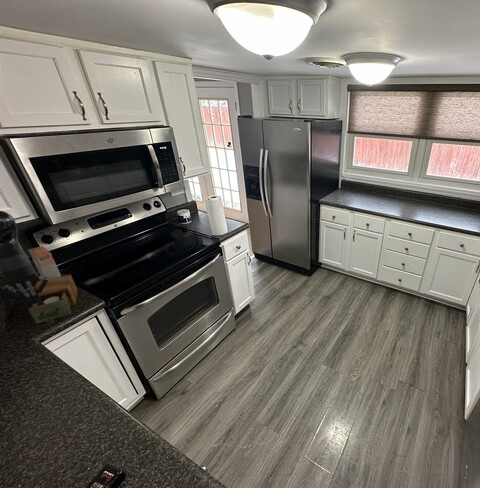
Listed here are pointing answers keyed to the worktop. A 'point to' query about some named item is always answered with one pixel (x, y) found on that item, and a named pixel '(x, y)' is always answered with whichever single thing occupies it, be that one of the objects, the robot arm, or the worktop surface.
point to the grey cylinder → (51, 300)
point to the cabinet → (60, 287)
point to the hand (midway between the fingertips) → (36, 302)
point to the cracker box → (44, 262)
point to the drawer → (51, 307)
